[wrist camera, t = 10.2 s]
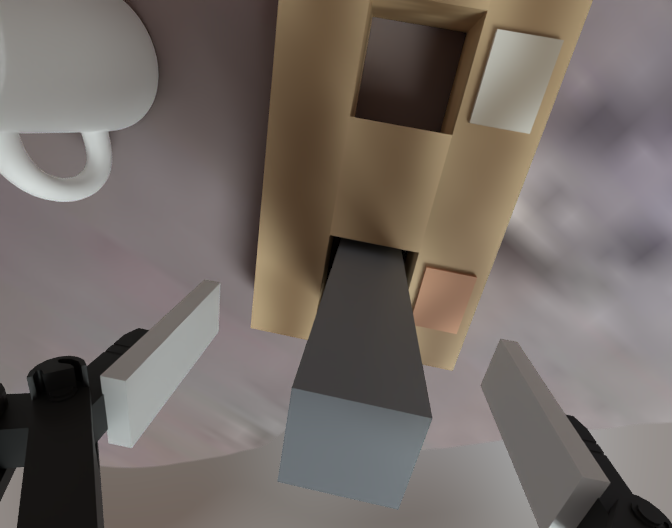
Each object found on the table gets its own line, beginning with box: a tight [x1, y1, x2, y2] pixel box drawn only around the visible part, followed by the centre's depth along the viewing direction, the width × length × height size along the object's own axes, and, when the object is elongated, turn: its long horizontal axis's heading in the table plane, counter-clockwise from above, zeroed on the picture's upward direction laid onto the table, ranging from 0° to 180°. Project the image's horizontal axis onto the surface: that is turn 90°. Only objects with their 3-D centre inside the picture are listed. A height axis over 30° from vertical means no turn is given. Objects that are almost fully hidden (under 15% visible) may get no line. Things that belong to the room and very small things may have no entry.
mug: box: [0, 0, 159, 202], centre depth 18 cm, size 12×8×10 cm
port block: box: [251, 0, 593, 371], centre depth 21 cm, size 14×22×4 cm, turn 170°
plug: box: [278, 238, 432, 509], centre depth 18 cm, size 4×4×16 cm
